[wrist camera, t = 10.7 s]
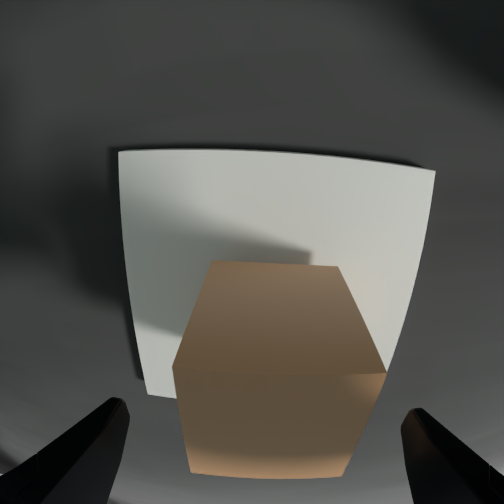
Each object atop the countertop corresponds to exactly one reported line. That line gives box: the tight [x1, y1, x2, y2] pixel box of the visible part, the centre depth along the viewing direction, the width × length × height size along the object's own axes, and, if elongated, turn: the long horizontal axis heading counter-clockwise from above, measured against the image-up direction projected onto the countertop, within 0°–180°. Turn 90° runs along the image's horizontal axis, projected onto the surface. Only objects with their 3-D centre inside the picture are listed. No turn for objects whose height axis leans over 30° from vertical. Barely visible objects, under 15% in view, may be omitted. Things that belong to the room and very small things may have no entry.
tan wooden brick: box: [172, 260, 387, 479], centre depth 11 cm, size 5×5×7 cm
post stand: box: [118, 149, 435, 398], centre depth 12 cm, size 14×14×8 cm
